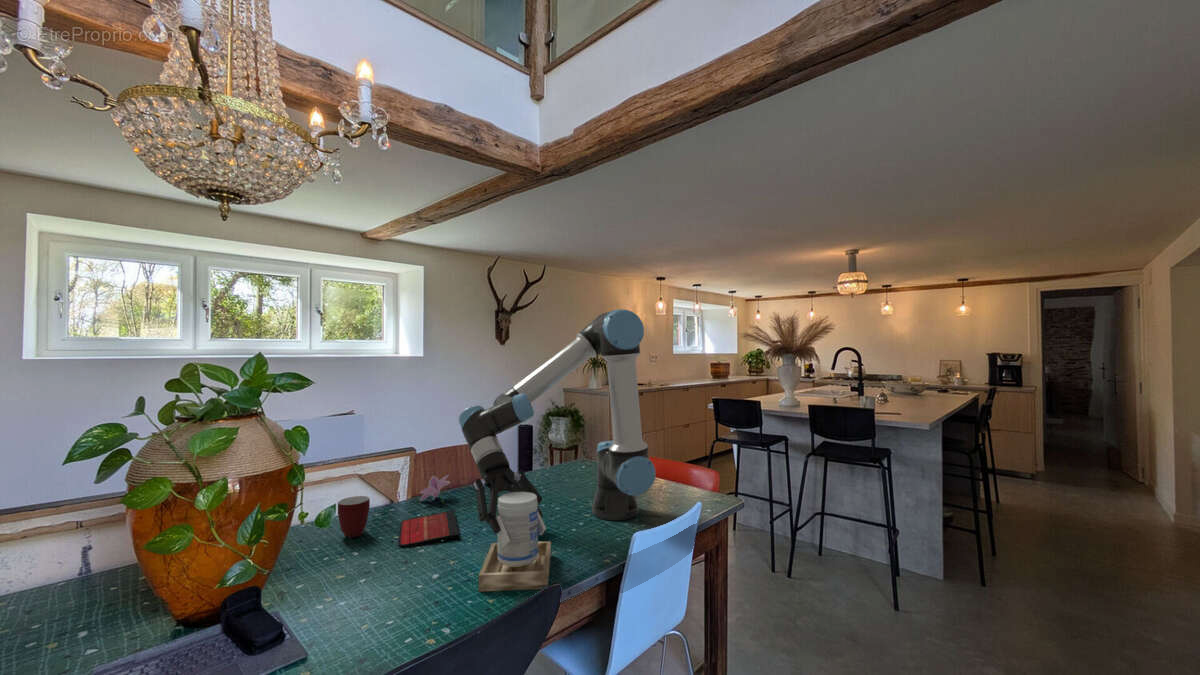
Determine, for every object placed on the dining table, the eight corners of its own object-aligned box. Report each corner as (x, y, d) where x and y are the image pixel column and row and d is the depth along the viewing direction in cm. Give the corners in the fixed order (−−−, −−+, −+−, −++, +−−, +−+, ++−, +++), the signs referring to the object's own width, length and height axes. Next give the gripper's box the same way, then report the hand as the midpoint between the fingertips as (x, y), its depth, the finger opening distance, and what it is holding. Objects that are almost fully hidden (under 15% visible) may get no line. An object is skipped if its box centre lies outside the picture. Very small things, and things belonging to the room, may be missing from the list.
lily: (456, 498, 169) (445, 474, 171) (460, 493, 159) (449, 468, 161) (423, 514, 162) (413, 489, 165) (426, 511, 153) (415, 484, 155)
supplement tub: (539, 566, 106) (539, 502, 107) (497, 571, 104) (497, 505, 105) (535, 548, 116) (535, 489, 116) (497, 552, 114) (497, 492, 114)
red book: (454, 509, 148) (459, 533, 129) (454, 516, 148) (460, 541, 129) (400, 518, 143) (397, 544, 123) (400, 525, 143) (397, 553, 123)
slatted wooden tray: (550, 555, 119) (550, 541, 119) (547, 589, 102) (547, 572, 102) (492, 556, 118) (492, 543, 118) (478, 591, 101) (478, 575, 101)
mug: (339, 530, 136) (339, 496, 137) (369, 525, 140) (369, 492, 140) (336, 543, 127) (336, 506, 127) (369, 538, 130) (369, 502, 131)
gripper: (520, 460, 129) (555, 533, 117) (445, 475, 114) (476, 561, 102) (531, 443, 126) (568, 517, 114) (455, 457, 110) (489, 543, 99)
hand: (525, 538), depth 108 cm, fingers closed on supplement tub, 9 cm apart
